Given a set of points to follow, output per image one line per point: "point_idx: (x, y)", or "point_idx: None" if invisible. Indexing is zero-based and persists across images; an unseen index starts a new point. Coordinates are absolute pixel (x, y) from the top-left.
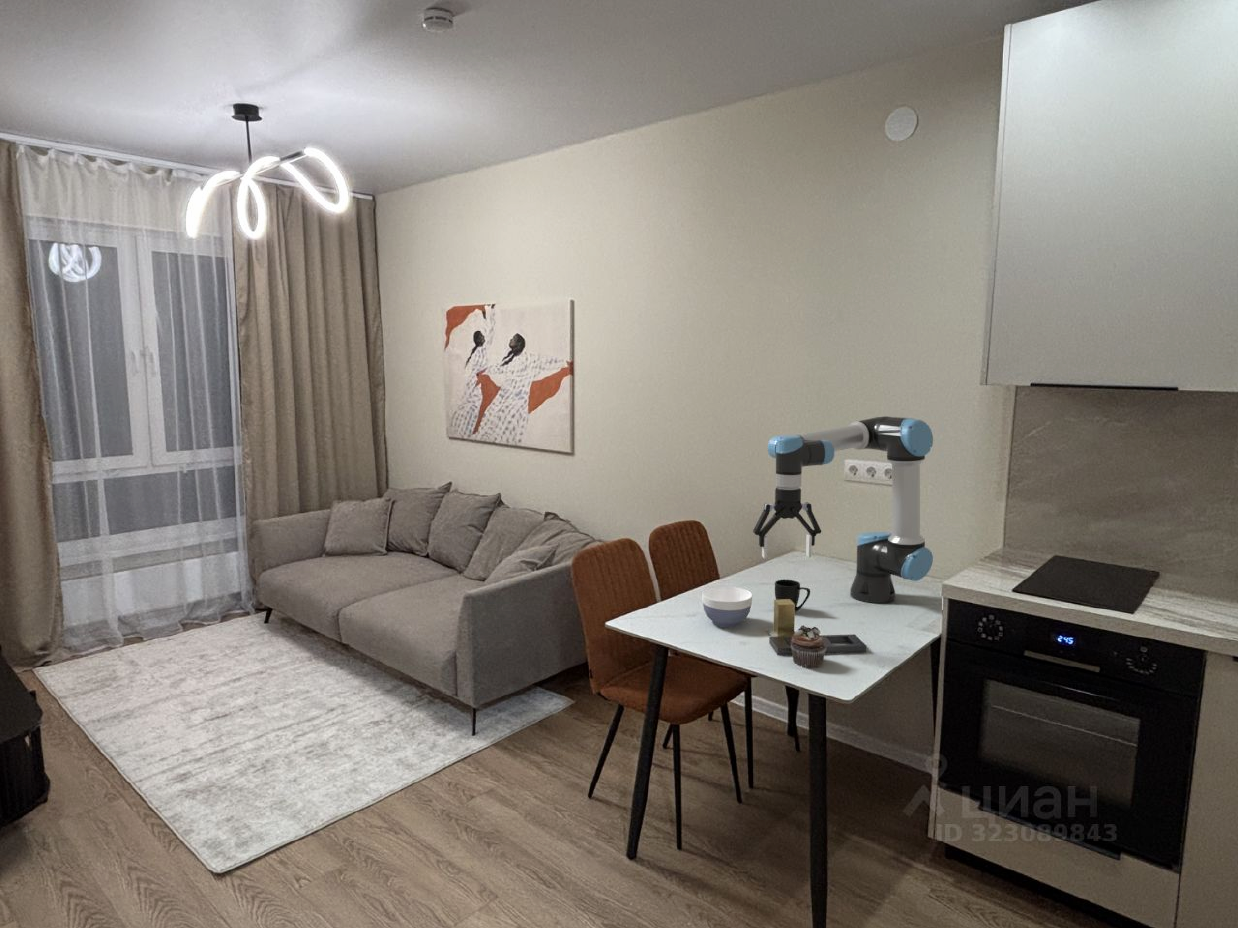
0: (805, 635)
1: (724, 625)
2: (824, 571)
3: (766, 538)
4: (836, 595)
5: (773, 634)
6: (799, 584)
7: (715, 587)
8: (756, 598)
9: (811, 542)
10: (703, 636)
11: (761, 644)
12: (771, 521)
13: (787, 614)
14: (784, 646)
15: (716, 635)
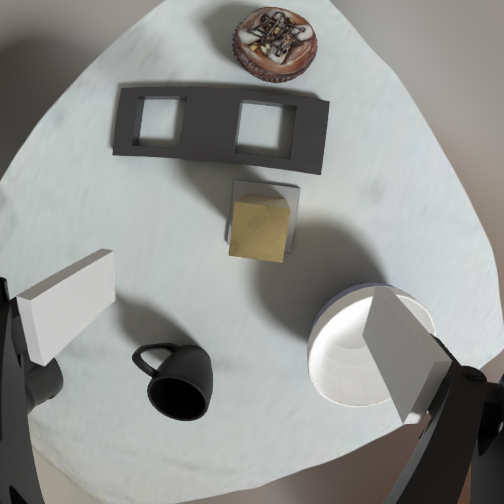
0: (290, 19)
1: None
2: (89, 464)
3: (435, 353)
4: (83, 390)
5: (290, 215)
6: (150, 383)
7: (374, 403)
8: (231, 424)
9: (48, 277)
10: (435, 250)
11: (338, 172)
12: (454, 498)
13: (260, 201)
14: (308, 108)
15: (410, 250)
